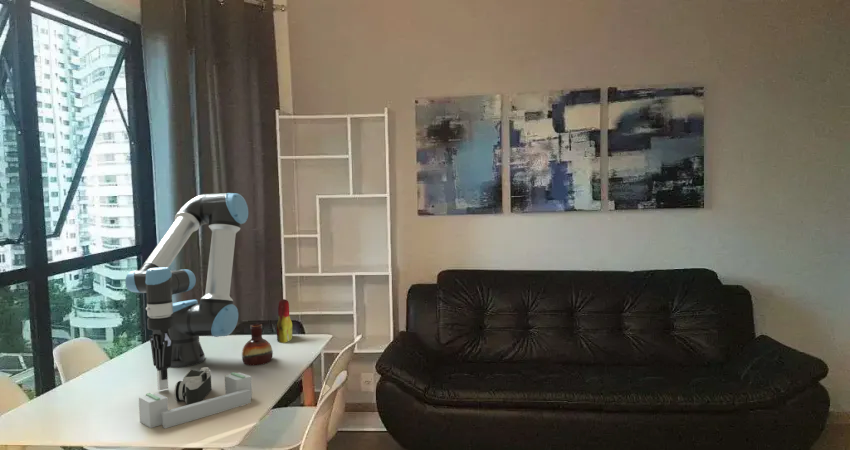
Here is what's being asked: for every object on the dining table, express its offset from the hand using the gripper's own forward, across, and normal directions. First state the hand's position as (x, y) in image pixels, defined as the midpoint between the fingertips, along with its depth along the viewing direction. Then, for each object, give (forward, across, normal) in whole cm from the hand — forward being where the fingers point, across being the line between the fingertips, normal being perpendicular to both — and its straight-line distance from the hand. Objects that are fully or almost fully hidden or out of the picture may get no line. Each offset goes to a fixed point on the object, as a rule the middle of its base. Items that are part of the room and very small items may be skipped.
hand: (163, 388), depth 194 cm
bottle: (+1, -24, +61) cm, 65 cm away
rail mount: (+2, +24, 0) cm, 24 cm away
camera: (+2, +13, +4) cm, 14 cm away
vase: (+2, -5, +37) cm, 38 cm away
